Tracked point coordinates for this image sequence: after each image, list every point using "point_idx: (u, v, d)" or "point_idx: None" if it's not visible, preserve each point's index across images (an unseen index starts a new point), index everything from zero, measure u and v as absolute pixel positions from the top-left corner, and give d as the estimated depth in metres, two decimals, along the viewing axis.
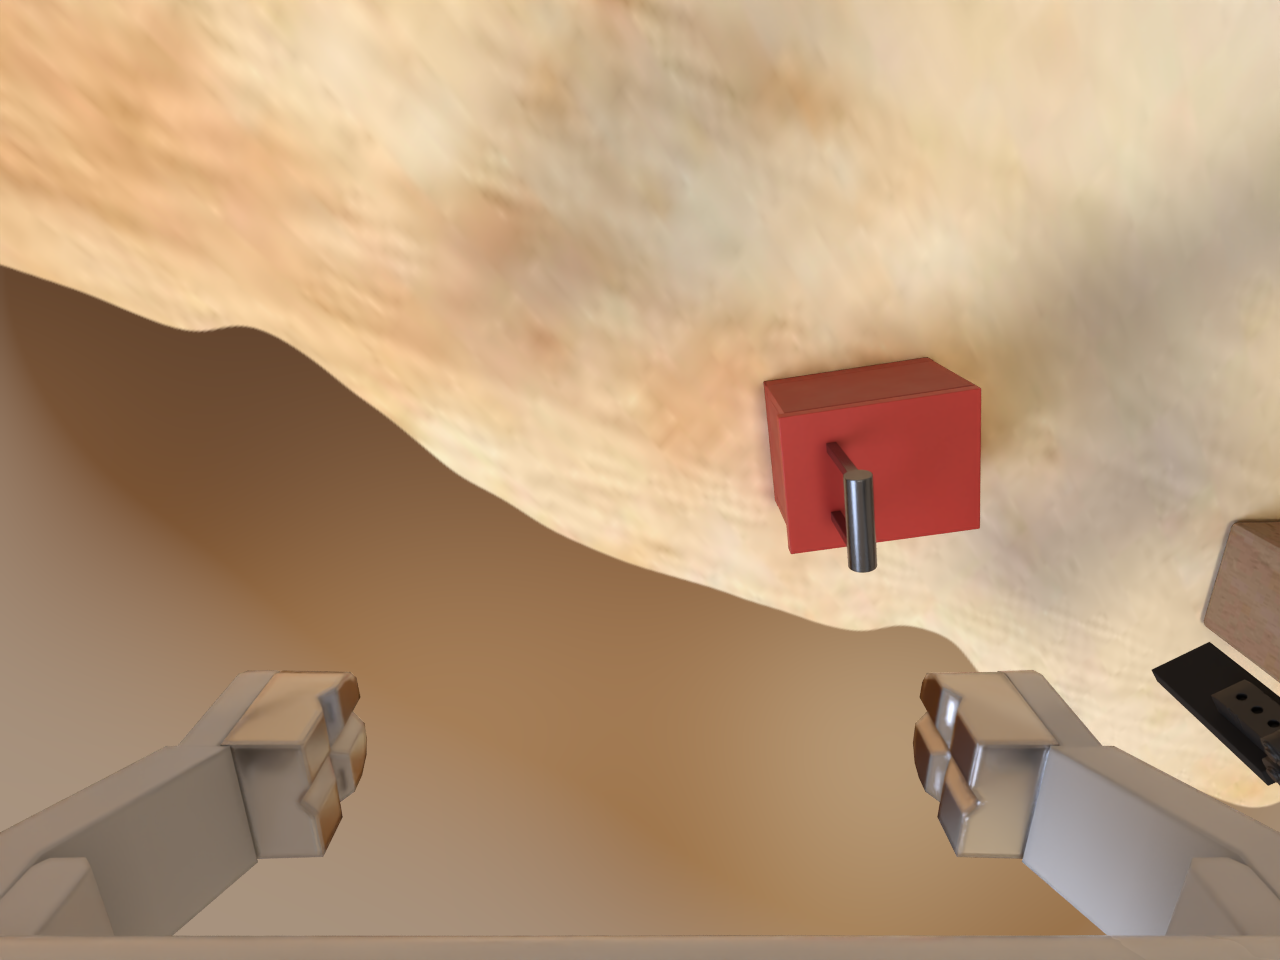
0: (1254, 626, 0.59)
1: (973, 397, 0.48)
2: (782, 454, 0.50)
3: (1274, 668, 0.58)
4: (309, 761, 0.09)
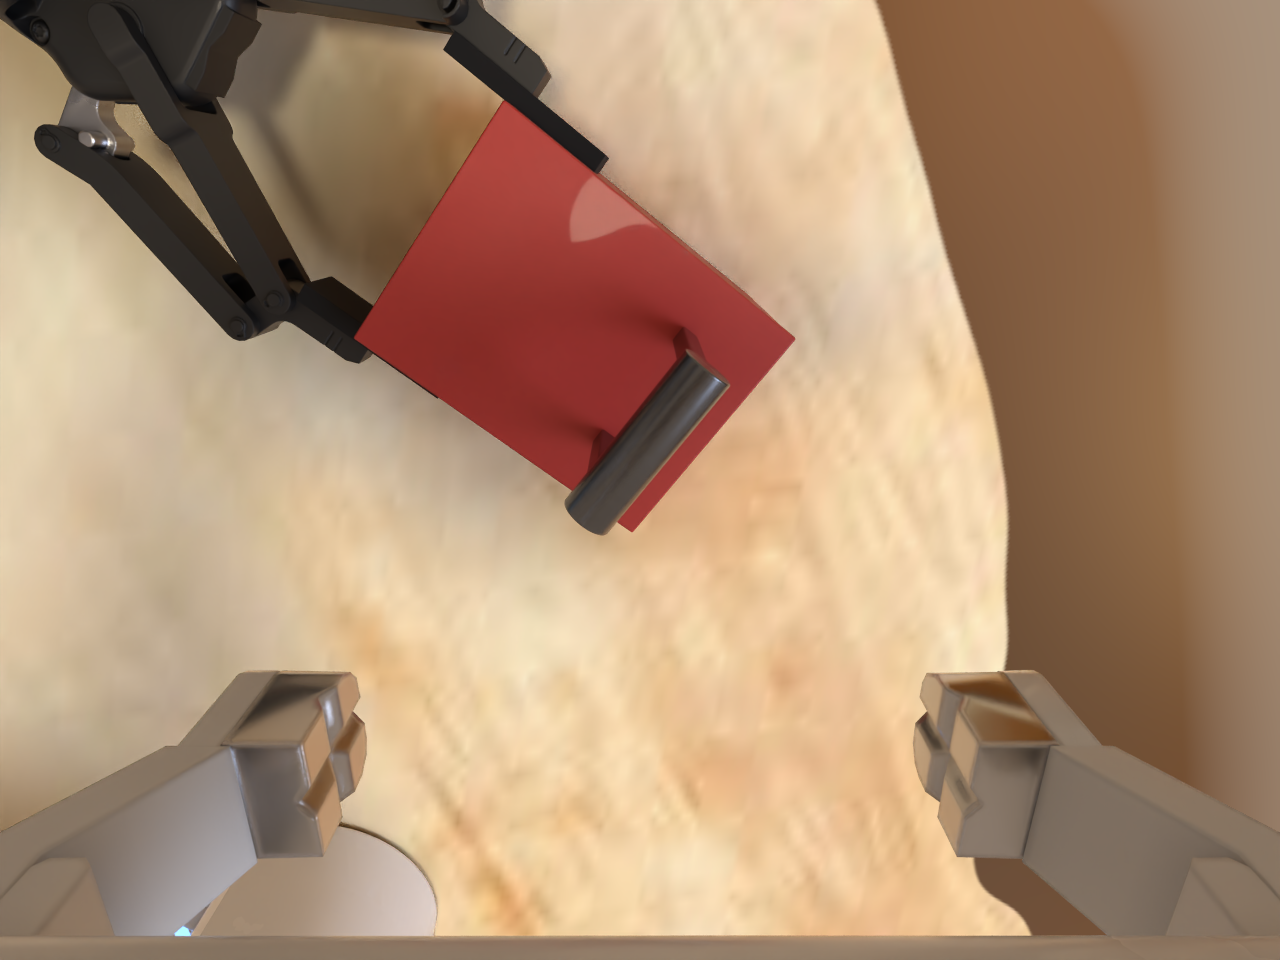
0: None
1: (372, 335, 0.28)
2: (670, 485, 0.30)
3: None
4: (309, 762, 0.09)
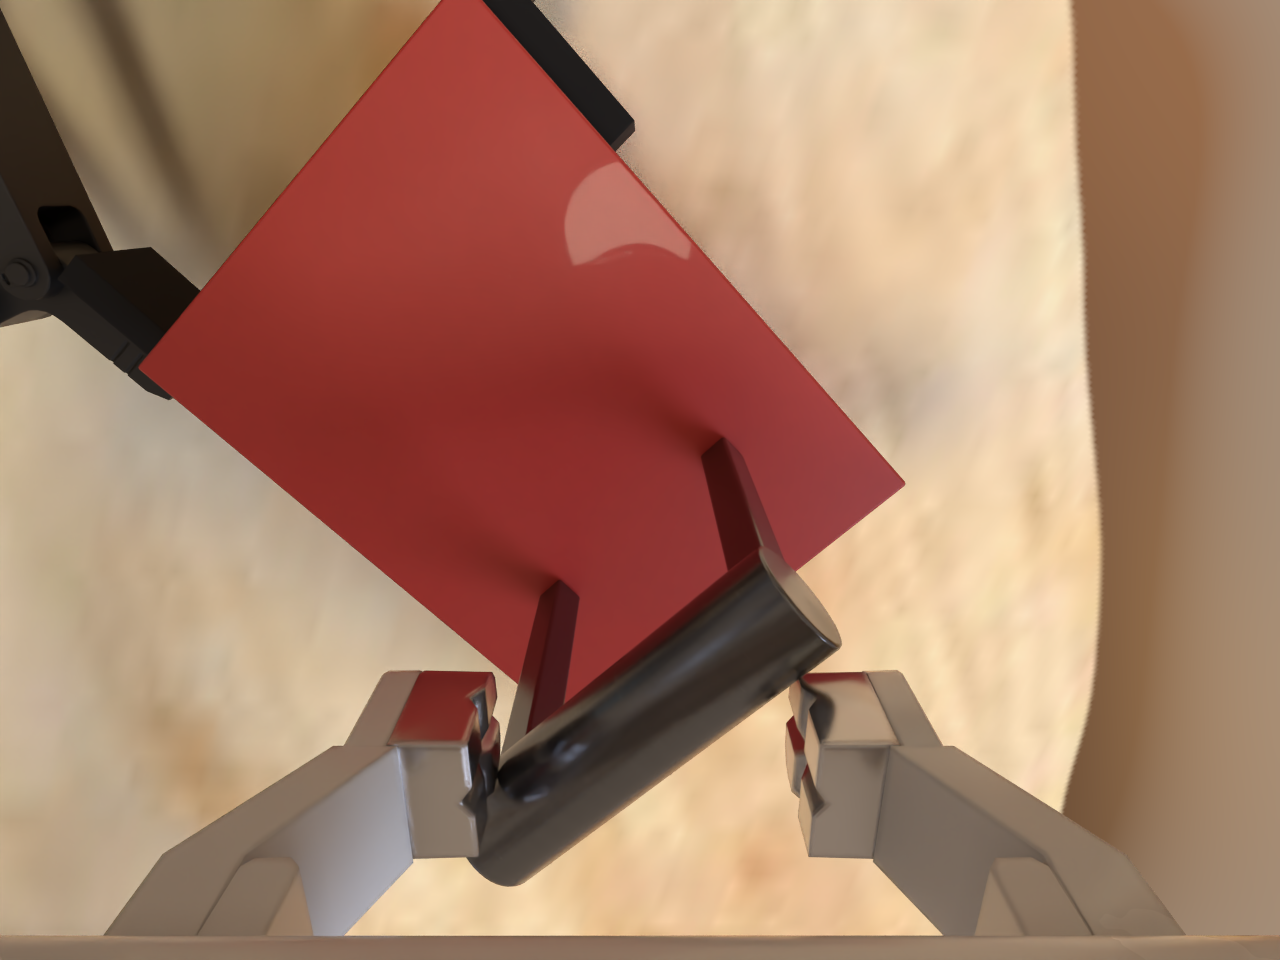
0: None
1: (171, 367, 0.15)
2: None
3: None
4: (471, 761, 0.09)
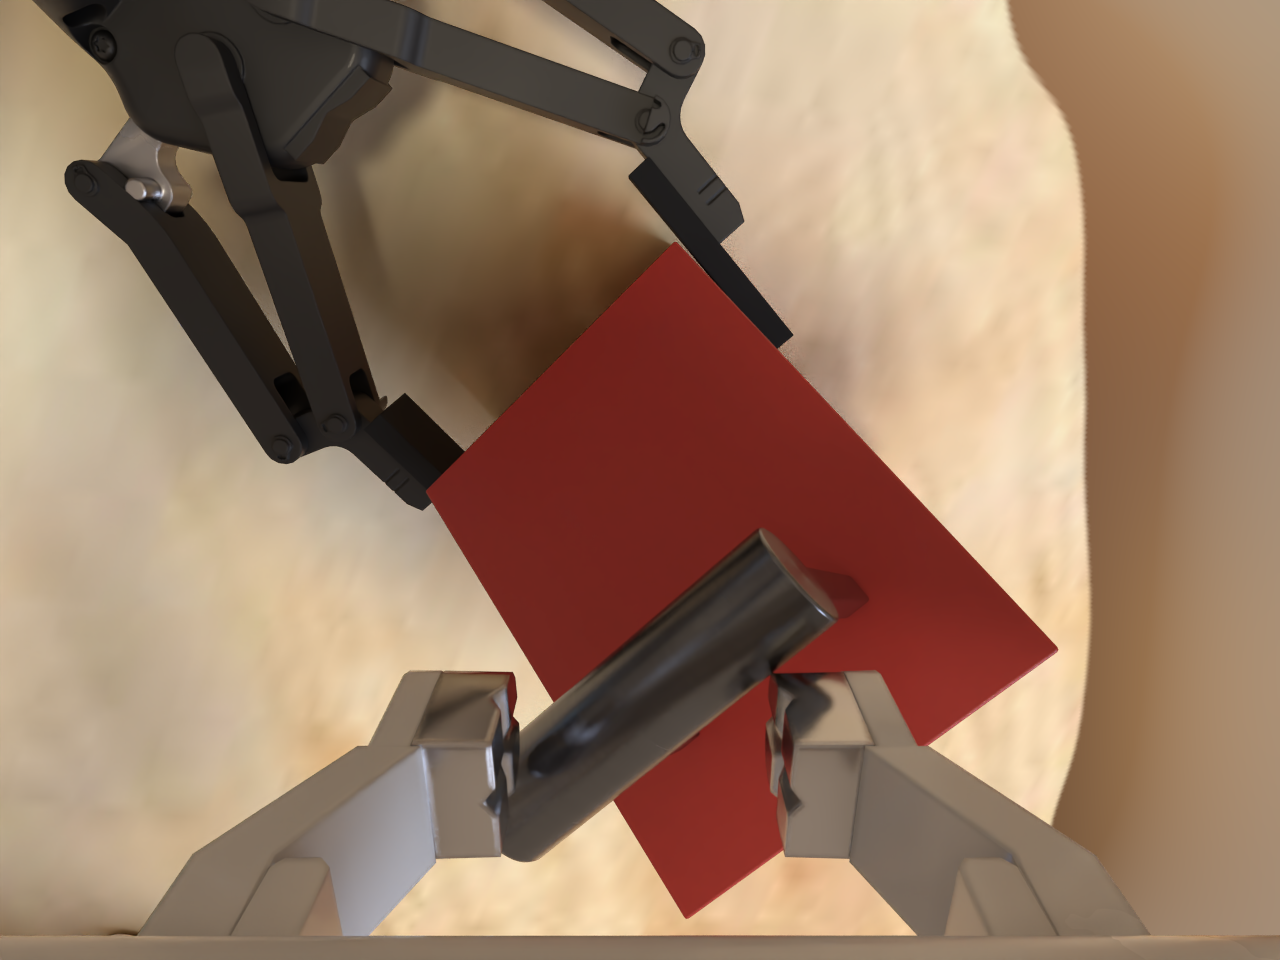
0: None
1: (444, 491, 0.21)
2: (770, 855, 0.16)
3: None
4: (494, 761, 0.09)
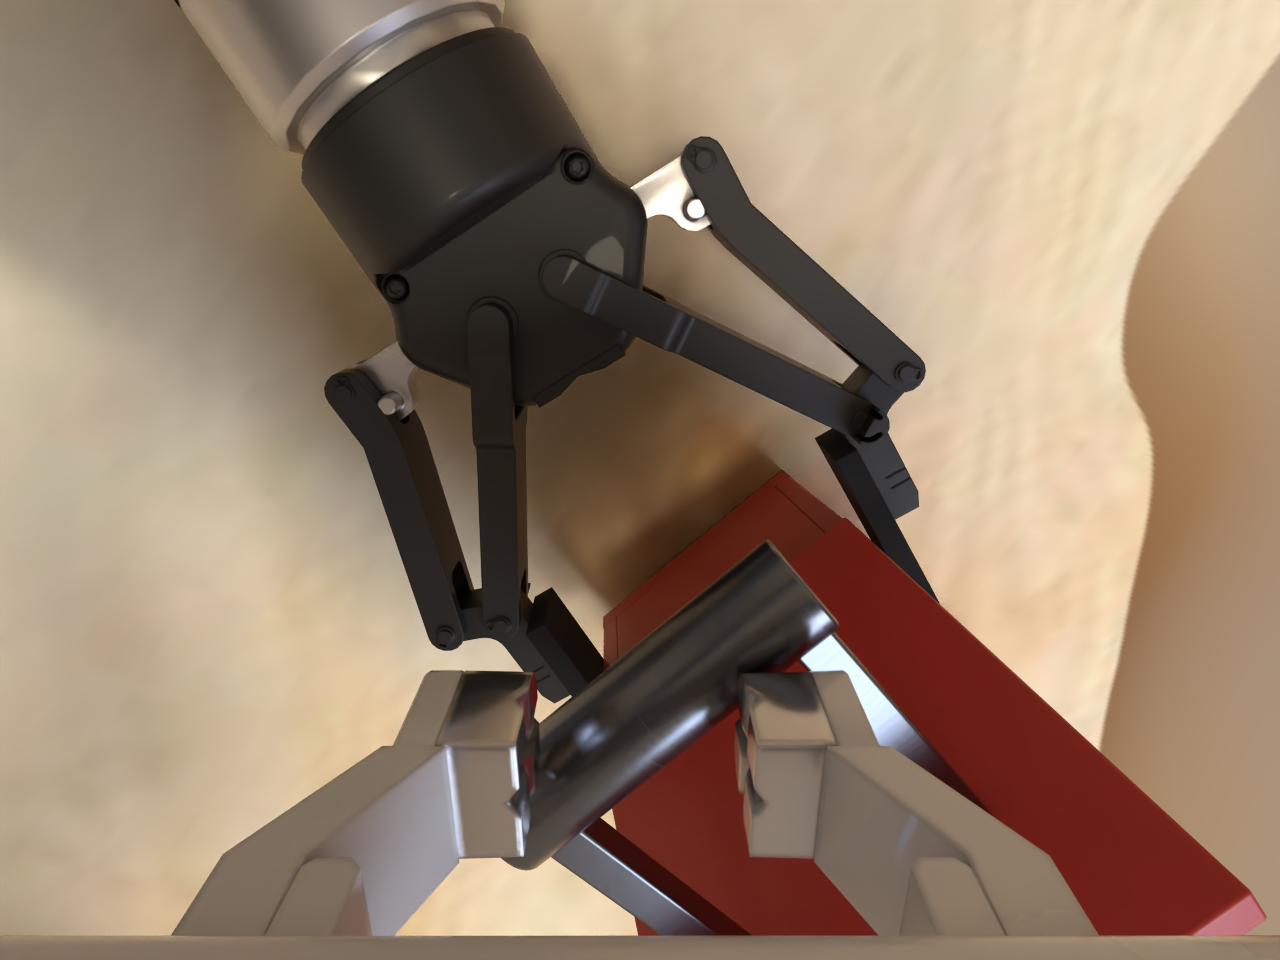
0: None
1: None
2: None
3: None
4: (519, 761, 0.09)
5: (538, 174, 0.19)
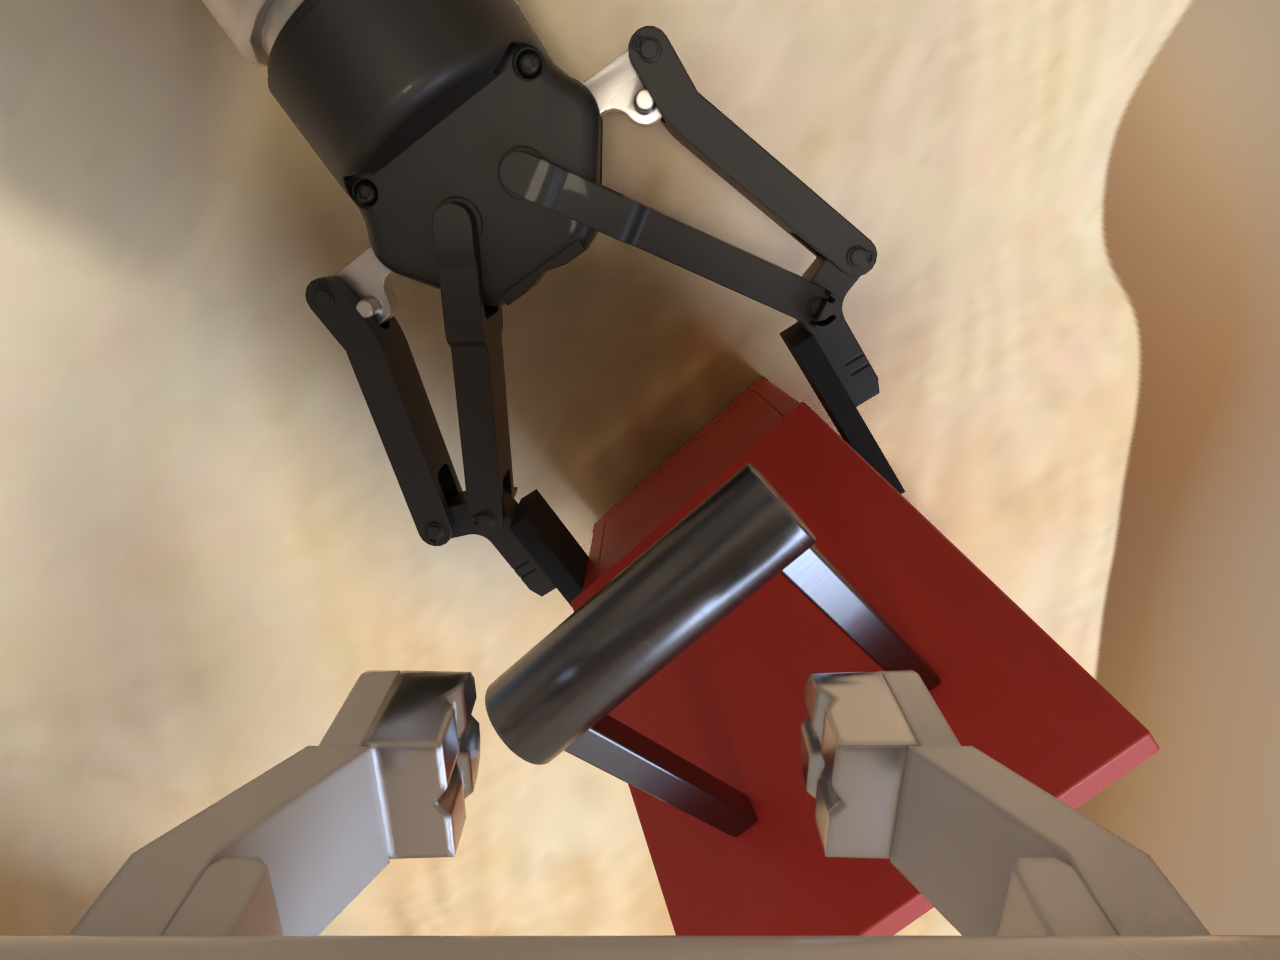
0: None
1: (585, 601, 0.24)
2: None
3: None
4: (446, 762, 0.09)
5: (488, 68, 0.20)
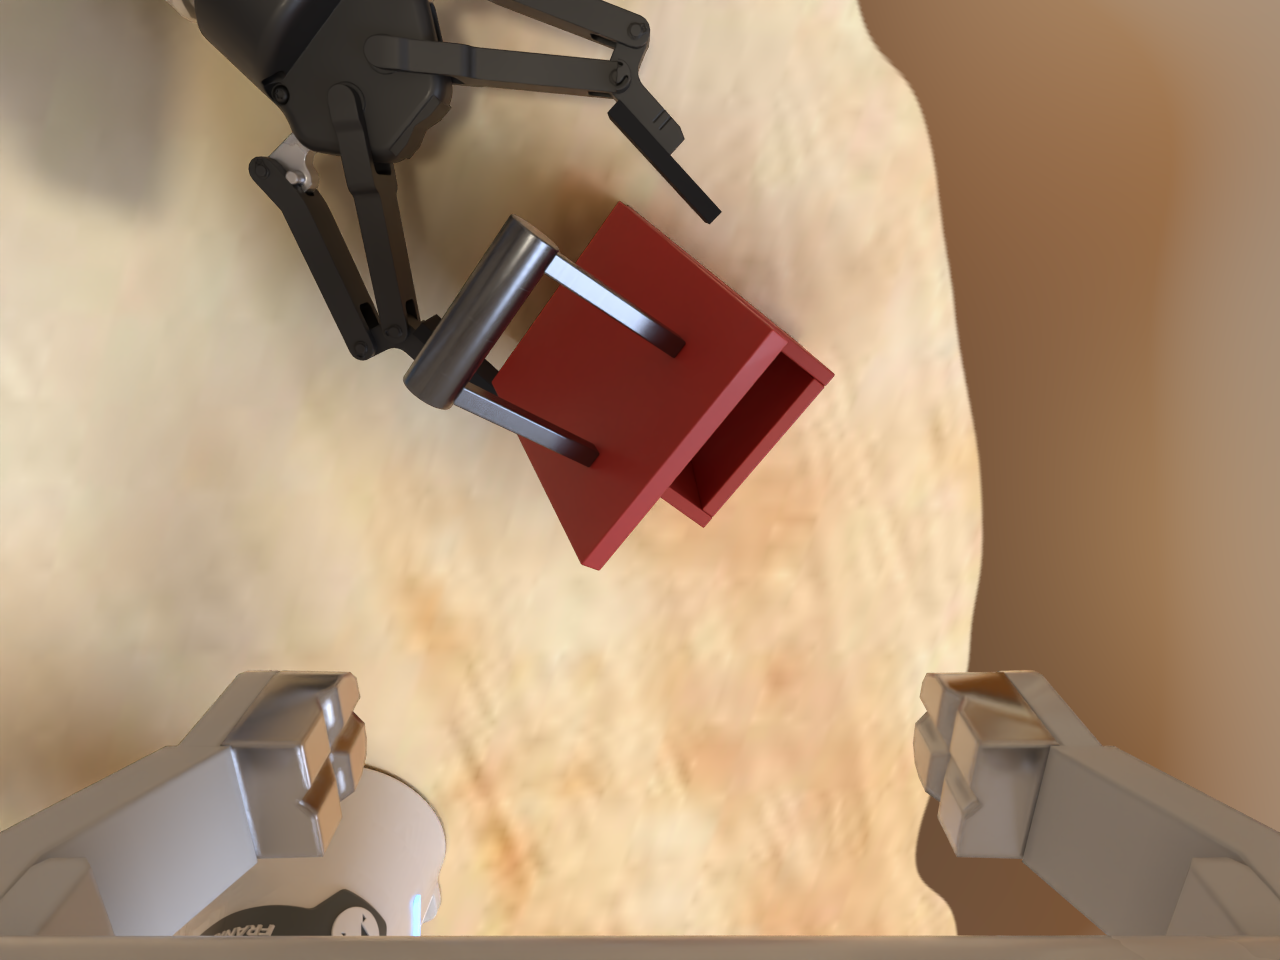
0: None
1: (499, 378, 0.34)
2: (626, 508, 0.25)
3: None
4: (309, 761, 0.09)
5: None
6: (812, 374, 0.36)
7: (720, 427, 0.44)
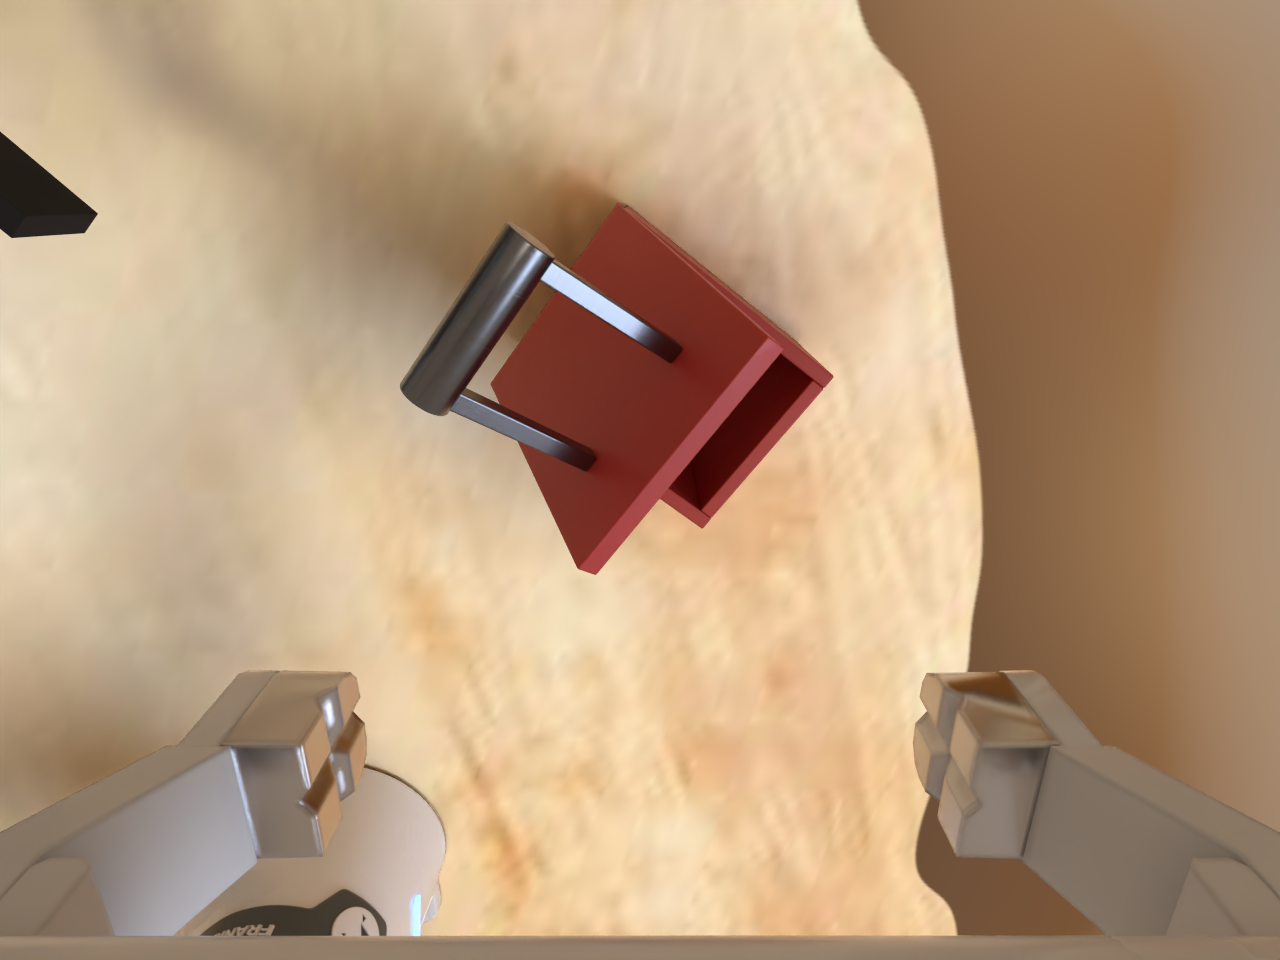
0: None
1: (498, 380, 0.35)
2: (622, 514, 0.25)
3: None
4: (309, 760, 0.09)
5: None
6: (811, 376, 0.36)
7: (720, 426, 0.44)
